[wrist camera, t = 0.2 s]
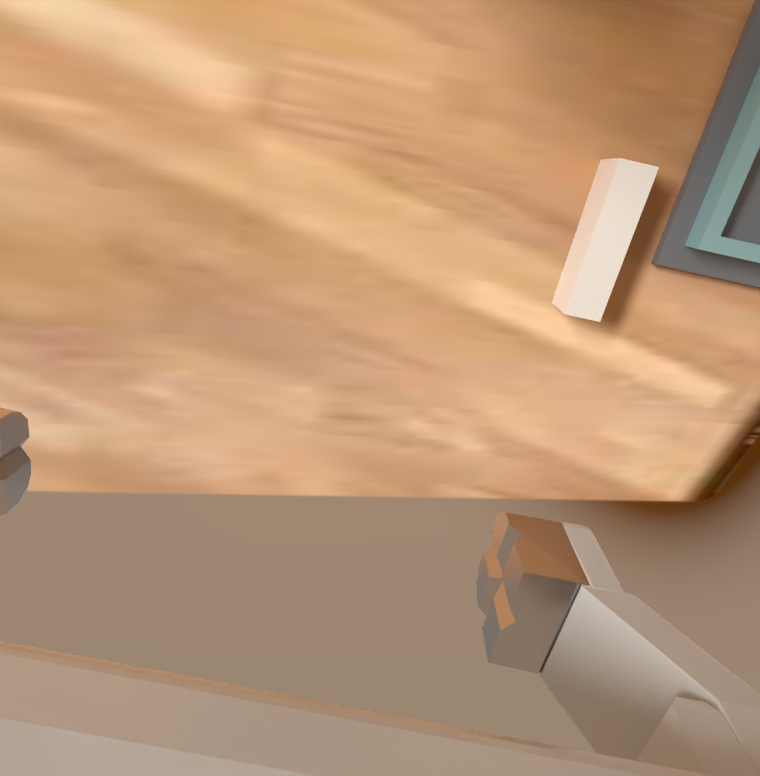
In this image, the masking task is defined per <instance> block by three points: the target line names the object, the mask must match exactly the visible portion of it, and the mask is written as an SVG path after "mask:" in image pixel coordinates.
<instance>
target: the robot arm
mask: <svg viewBox="0 0 760 776" xmlns="http://www.w3.org/2000/svg"><path fill="white" fill-rule="evenodd" d="M28 438H29V428H28V419H27V418H26V417H25V416H24V415H23V414H22V413H21V412H17V411H13V410H8V409H4V408H0V515H3V514H6V513H7V512H8V511H9V510H11V509H12V508H13V507H14V506H15V505H16V504H17V503H18V502H19V501H20V499H21V497H22V496H23V494H24V492H25V491H26V489H27V487H28V484H29V479H30V475H31V460H30V459H29V457H28V456H27V455H26V453H25V452H24V450H23V449H22V448H21V446H22V445H23V443H24V442H25V441H26V440H27V439H28ZM491 532H492V537H493V541H494V545H492V546H491V547H490V548H488V549H487V550H485V551H484V553H483V556H482V559H481V562H480V565H479V570H478V577H477V600H478V607H479V608H480V609H481V610H482V611H483V612H484V614H485V615H486V619H485V621H484V624H483V627H482V630H483V636H484V642H485V647H486V653H487V659H488V662H489V663H494V664H499V665H503V666H507V667H512V668H516V669H521V670H525V671H530V672H535V673H539V674H541V675H540V677H541V678H542V680H543V681H544V683H545V684H546V685H547V687H548V688H549V689H550V691H551V692H552V693H553V695H554V696H555V697H556V699H557V700H558V701H559V703H560V704H561V706H562V707H563V708H564V710H565V711H566V712H567V714H568V715H569V717H570V718H571V719H572V721H573V722H574V723H575V725H576V726H577V727H578V728H579V730H580V732H581V733H582V734H583V736H584V737H585V738H586V740H587V741H588V742H589V744H590V745H591V746H592V748H593V749H594V750H595V752H596V753H592V752H587V751H581V750H576V749H571V748H566V747H560V746H555V745H549V744H544V743H539V742H533V741H528V740H522V739H517V738H511V737H506V736H501V735H495V734H489V733H484V732H479V731H474V730H468V729H463V728H457V727H453V726H447V725H442V724H436V723H432V722H426V721H421V720H416V719H411V718H405V717H400V716H395V715H390V714H384V713H379V712H374V711H369V710H364V709H358V708H353V707H348V706H343V705H337V704H332V703H326V702H322V701H316V700H311V699H306V698H300V697H295V696H290V695H285V694H280V693H274V692H269V691H264V690H259V689H253V688H248V687H243V686H237V685H233V684H227V683H222V682H217V681H211V680H206V679H200V678H195V677H189V676H184V675H179V674H174V673H168V672H163V671H158V670H153V669H147V668H142V667H137V666H131V665H126V664H120V663H115V662H110V661H104V660H99V659H93V658H88V657H83V656H78V655H73V654H67V653H62V652H57V651H51V650H46V649H41V648H35V647H30V646H24V645H19V644H14V643H8V642H3V641H0V776H760V695H759V694H758V693H757V692H755V691H754V690H753V689H752V688H750V687H749V686H748V685H747V684H745V683H744V682H743V681H742V680H740V679H739V678H738V677H737V676H735V675H734V674H733V673H732V672H730V671H729V670H728V669H726V668H725V667H724V666H722V665H721V664H720V663H719V662H718V661H716V660H715V659H714V658H712V657H711V656H710V655H709V654H708V653H706V652H705V651H704V650H703V649H701V648H700V647H699V646H698V645H696V644H695V643H693V642H692V641H691V640H690V639H689V638H687V637H686V636H685V635H684V634H682V633H681V632H680V631H678V630H677V629H676V628H675V627H673V626H672V625H671V624H670V623H668V622H667V621H666V620H665V619H663V618H662V617H661V616H659V615H658V614H657V613H656V612H655V611H653V610H652V609H651V608H649V607H648V606H647V605H646V604H644V603H643V602H642V601H641V600H639V599H638V598H637V597H636V596H634V595H632V594H627V593H624V591H623V590H622V588H621V586H620V584H619V582H618V580H617V578H616V577H615V575H614V573H613V571H612V569H611V567H610V565H609V563H608V561H607V559H606V558H605V556H604V554H603V552H602V550H601V548H600V546H599V545H598V543H597V541H596V539H595V537H594V535H593V533H592V531H591V530H590V529H589V528H587V527H586V526H582V525H576V524H569V523H564V522H558V521H551V520H545V519H540V518H534V517H529V516H523V515H518V514H512V513H506V512H500V513H499V514H498V516H497V518H496V519H495V522H494V524H493V527H492V530H491Z"/></svg>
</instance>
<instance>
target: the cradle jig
mask: <svg viewBox="0 0 760 776" xmlns="http://www.w3.org/2000/svg"><path fill="white" fill-rule="evenodd" d="M651 263H653V264H656V265H660V266H665V267H669V268H674V269H678V270H683V271H687V272H692V273H696V274H701V275H705V276H710V277H714V278H719V279H723V280H728V281H732V282H737V283H741V284H746V285H750V286H755V287H759V288H760V0H756V1H755V3H754V6H753V8H752V11H751V13H750V16H749V18H748V21H747V23H746V26H745V28H744V31H743V33H742V36H741V38H740V41H739V43H738V46H737V48H736V51H735V54H734V56H733V59H732V61H731V64H730V66H729V69H728V71H727V74H726V76H725V79H724V81H723V84H722V86H721V89H720V91H719V94H718V96H717V99H716V101H715V104H714V106H713V109H712V111H711V114H710V116H709V119H708V121H707V124H706V126H705V129H704V131H703V134H702V136H701V139H700V142H699V144H698V147H697V149H696V152H695V154H694V157H693V159H692V162H691V164H690V167H689V169H688V172H687V174H686V177H685V179H684V182H683V184H682V187H681V189H680V192H679V194H678V197H677V199H676V202H675V204H674V207H673V209H672V212H671V214H670V217H669V219H668V222H667V225H666V227H665V230H664V232H663V235H662V237H661V240H660V242H659V245H658V247H657V250H656V252H655V255H654V257H653V260H652V262H651Z"/></svg>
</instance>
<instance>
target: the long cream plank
mask: <svg viewBox="0 0 760 776" xmlns="http://www.w3.org/2000/svg"><path fill="white" fill-rule="evenodd" d="M658 169H659V167H656V166H652V165H648V164H643V163H639V162H635V161H631V160H626V159H622V158H614V159H602V160H600V163H599V166H598V169H597V172H596V175H595V178H594V181H593V184H592V187H591V190H590V193H589V196H588V199H587V201H586V204H585V207H584V210H583V213H582V216H581V219H580V222H579V225H578V228H577V231H576V234H575V237H574V240H573V242H572V245H571V248H570V251H569V254H568V257H567V260H566V263H565V266H564V269H563V272H562V275H561V278H560V281H559V284H558V286H557V289H556V292H555V295H554V298H553V301H552V304H554V305H555V306H556V307H557V308H558V309H559V310H561V311H562V312H563V313H564V314H566V315H571V316H575V317H580V318H584V319H589V320H593V321H598V322H600V321H601V318H602V315H603V313H604V310H605V308H606V305H607V302H608V300H609V297H610V295H611V292H612V289H613V287H614V284H615V281H616V279H617V276H618V274H619V271H620V268H621V266H622V263H623V260H624V258H625V255H626V253H627V250H628V247H629V245H630V242H631V240H632V237H633V234H634V232H635V229H636V226H637V224H638V221H639V219H640V216H641V213H642V211H643V208H644V205H645V203H646V200H647V198H648V195H649V192H650V190H651V187H652V185H653V182H654V179H655V177H656V174H657V171H658Z"/></svg>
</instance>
